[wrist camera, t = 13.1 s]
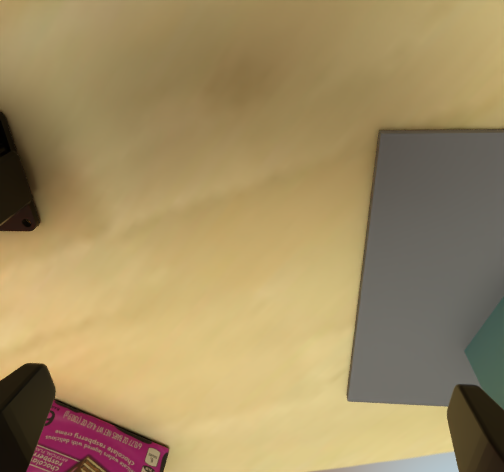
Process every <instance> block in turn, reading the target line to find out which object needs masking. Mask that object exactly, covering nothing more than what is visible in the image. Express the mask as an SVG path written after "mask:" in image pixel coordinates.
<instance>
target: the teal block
mask: <svg viewBox="0 0 504 472" xmlns="http://www.w3.org/2000/svg"><path fill="white" fill-rule="evenodd" d="M464 352H465V354H466V356H467V358H468V360H469V362H470V364H471V367H472V369H473V371H474V373H475V375H476V377H477V379H478V381H479V383H480V385H481V387H482V389H483V390H484V391H485V392H486V393H487V394H488V395H489V396H490V397H491V398H492V399H493V400H494V401H495V402H496V403H497V404H498V405H499V406H500V407H502V408H503V409H504V297H503V298H502V299H501V301H500V302H499V304H498V305H497V306H496V308H495V309H494V310H493V312H492V313H491V315H490V316H489V317H488V319H487V320H486V321H485V323H484V324H483V326H482V327H481V328H480V330H479V331H478V332H477V334H476V335H475V337H474V338H473V339H472V341H471V342H470V344H469V345H468V346H467V348H466V349H465V350H464Z"/></svg>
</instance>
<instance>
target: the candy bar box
mask: <svg viewBox="0 0 504 472" xmlns="http://www.w3.org/2000/svg"><path fill="white" fill-rule="evenodd" d="M168 452H169V449H168V448H166V447H164V446H161V445H159V444H157V443H154V442H152V441H149V440H147V439H145V438H142V437H140V436H138V435H135V434H133V433H131V432H128V431H126V430H124V429H121V428H119V427H116V426H114V425H112V424H109V423H107V422H105V421H102V420H100V419H98V418H95V417H93V416H90V415H88V414H86V413H83V412H81V411H79V410H77V409H74V408H72V407H69V406H67V405H65V404H63V403H60V402H58V401H56V400H54V401H53V404H52V406H51V409H50V412H49V414H48V417H47V420H46V422H45V425H44V428H43V431H42V433H41V436H40V439H39V441H38V444H37V447H36V449H35V452H34V455H33V457H32V459H31V462H30V464H29V467H28V469H27V471H26V472H163V471H164V467H165V464H166V460H167V456H168Z"/></svg>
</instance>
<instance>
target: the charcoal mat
mask: <svg viewBox="0 0 504 472" xmlns="http://www.w3.org/2000/svg"><path fill="white" fill-rule="evenodd" d="M503 297H504V129H484V130H379V135H378V143H377V151H376V159H375V168H374V176H373V184H372V192H371V200H370V209H369V217H368V225H367V233H366V241H365V250H364V258H363V266H362V274H361V283H360V291H359V299H358V307H357V315H356V324H355V332H354V340H353V348H352V356H351V365H350V373H349V381H348V389H347V400H348V401H350V402H370V403H389V404H409V405H428V406H449V402H450V399H451V396H452V393H453V390H454V387H455V386H456V385H457V384H473V385H477V386H479V387H480V388H481V389H482V387H481V385H480V383H479V381H478V379H477V377H476V375H475V373H474V371H473V369H472V367H471V364H470V362H469V360H468V358H467V356H466V354H465V352H464V350H465V349H466V348H467V346H468V345H469V344H470V342H471V341H472V339H473V338H474V337H475V335H476V334H477V332H478V331H479V330H480V328H481V327H482V326H483V324H484V323H485V321H486V320H487V319H488V317H489V316H490V315H491V313H492V312H493V310H494V309H495V308H496V306H497V305H498V304H499V302H500V301H501V299H502V298H503Z"/></svg>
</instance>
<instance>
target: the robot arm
mask: <svg viewBox="0 0 504 472" xmlns="http://www.w3.org/2000/svg"><path fill="white" fill-rule="evenodd" d="M26 219H28V220H29V221H30V222H31V224H30V223H29V222H27V220H26ZM39 223H40V221H39V217H38V214H37V211H36V208H35V205H34V202H33V197H32V194H31V191H30V188H29V185H28V182H27V179H26V176H25V173H24V170H23V167H22V164H21V160H20V157H19V155H18V153H17V150H16V147H15V144H14V141H13V138H12V135H11V132H10V129H9V126H8V123H7V120H6V118H5V116H4V115H3V113H2V112H0V231H33V230H34V229H35V228H36V227H38V226H39ZM55 392H56V391H55V385H54V383H53V380H52V378H51V375H50V373H49V370H48V368H47V366H46V365H44V364H40V363H27V364H24V365H23V366H21V367H20V368H18V369H17V370H15V371H14V372H12V373H11V374H10V375H8V376H7V377H5V378H4V379H2V380H1V381H0V472H26V471H27V469H28V467H29V464H30V462H31V459H32V457H33V455H34V452H35V449H36V447H37V444H38V441H39V439H40V436H41V433H42V431H43V428H44V425H45V422H46V420H47V417H48V414H49V412H50V409H51V406H52V404H53V401H54V398H55ZM447 420H448V424H449V429H450V434H451V438H452V443H453V447H454V452H455V456H456V461H457V465H458V469H459V472H504V409H503V408H502V407H500V406H499V405H498V404H497V403H496V402H495V401H494V400H493V399H492V398H491V397H490V396H489V395H488V394H487V393H486V392H485V391H484V390H483V389H481V388H480V387H479V386H477V385H473V384H457V385H456V386H455V387H454V390H453V393H452V396H451V399H450V402H449V406H448V409H447Z"/></svg>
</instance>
